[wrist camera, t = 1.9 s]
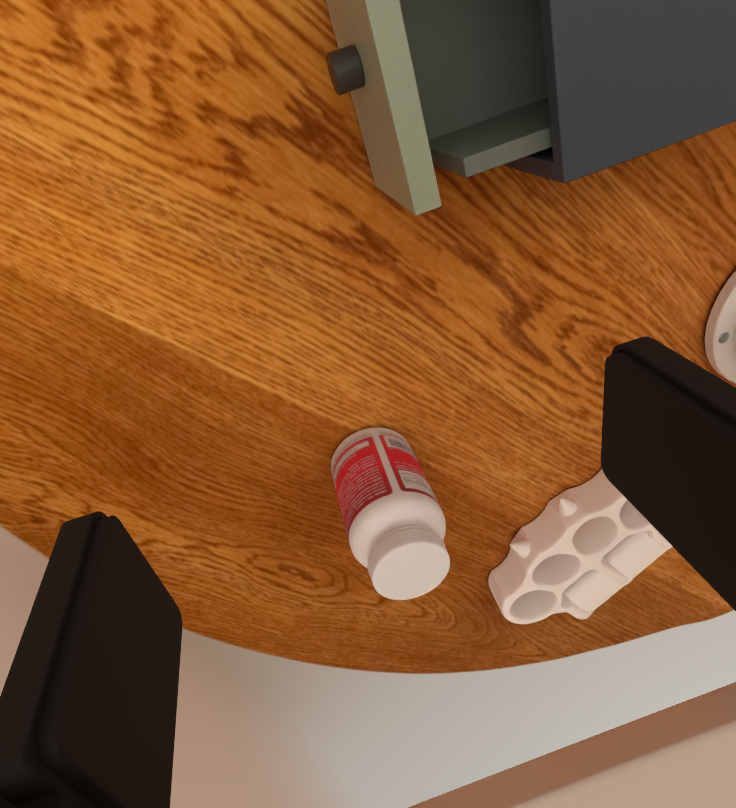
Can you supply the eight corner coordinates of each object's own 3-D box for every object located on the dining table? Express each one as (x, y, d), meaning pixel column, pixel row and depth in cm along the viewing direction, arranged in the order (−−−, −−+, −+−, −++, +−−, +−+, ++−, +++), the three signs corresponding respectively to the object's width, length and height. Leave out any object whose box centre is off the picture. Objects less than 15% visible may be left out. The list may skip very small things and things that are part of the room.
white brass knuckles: (551, 618, 55) (455, 574, 48) (689, 500, 50) (602, 433, 43) (568, 647, 52) (468, 605, 45) (715, 525, 47) (628, 457, 40)
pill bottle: (329, 495, 40) (357, 616, 31) (329, 427, 37) (359, 540, 28) (407, 486, 42) (456, 601, 32) (414, 420, 39) (470, 526, 29)
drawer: (354, 194, 29) (389, 225, 22) (276, -74, 23) (292, -138, 16) (604, 103, 29) (710, 108, 23) (594, -185, 23) (736, -292, 17)
